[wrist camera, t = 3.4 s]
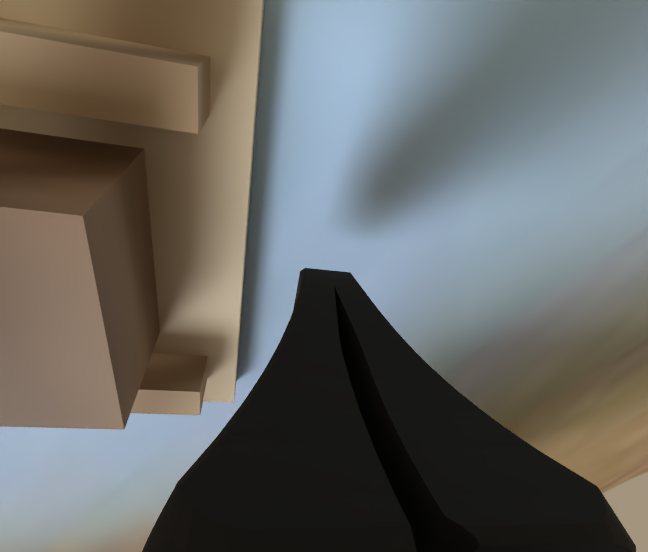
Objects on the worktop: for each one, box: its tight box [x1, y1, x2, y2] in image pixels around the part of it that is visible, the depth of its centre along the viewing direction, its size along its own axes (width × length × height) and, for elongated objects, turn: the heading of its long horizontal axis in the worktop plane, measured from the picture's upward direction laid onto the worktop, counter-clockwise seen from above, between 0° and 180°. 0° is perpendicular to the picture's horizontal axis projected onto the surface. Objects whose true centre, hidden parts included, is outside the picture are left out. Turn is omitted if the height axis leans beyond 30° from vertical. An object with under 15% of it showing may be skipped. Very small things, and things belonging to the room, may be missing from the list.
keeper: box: [0, 128, 160, 429], centre depth 9 cm, size 5×6×4 cm
